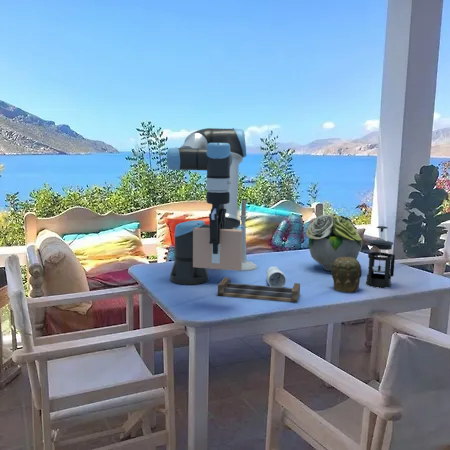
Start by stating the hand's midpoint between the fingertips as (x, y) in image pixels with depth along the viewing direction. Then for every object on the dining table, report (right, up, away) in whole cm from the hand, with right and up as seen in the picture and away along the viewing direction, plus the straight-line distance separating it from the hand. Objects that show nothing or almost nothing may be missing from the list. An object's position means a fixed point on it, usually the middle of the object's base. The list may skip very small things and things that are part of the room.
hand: (217, 261), depth 159 cm
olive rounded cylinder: (+48, -12, +22) cm, 54 cm away
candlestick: (+10, -7, +52) cm, 54 cm away
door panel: (0, -2, 0) cm, 2 cm away
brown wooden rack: (+15, -13, +13) cm, 23 cm away
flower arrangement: (+50, -8, +51) cm, 72 cm away
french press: (+63, -11, +29) cm, 70 cm away
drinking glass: (+22, -7, +34) cm, 41 cm away
